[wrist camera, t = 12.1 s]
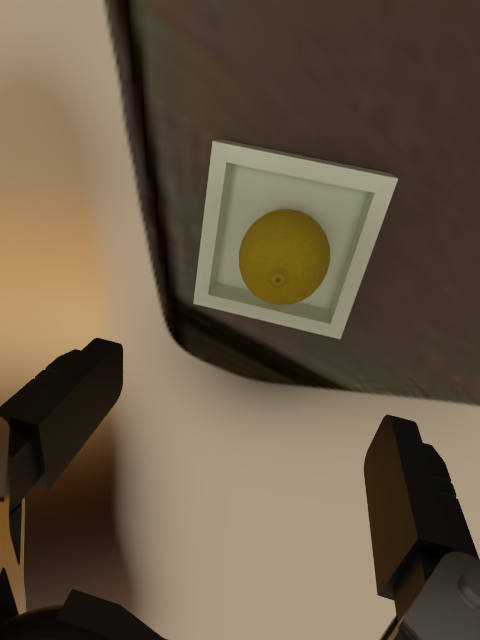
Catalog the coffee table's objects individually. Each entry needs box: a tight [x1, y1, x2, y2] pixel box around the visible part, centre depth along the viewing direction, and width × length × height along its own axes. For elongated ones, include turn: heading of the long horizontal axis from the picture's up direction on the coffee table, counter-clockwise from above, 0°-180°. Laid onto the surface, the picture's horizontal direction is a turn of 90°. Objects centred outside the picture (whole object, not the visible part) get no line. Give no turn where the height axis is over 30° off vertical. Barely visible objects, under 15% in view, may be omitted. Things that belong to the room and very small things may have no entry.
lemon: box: [239, 209, 330, 305], centre depth 23 cm, size 6×6×8 cm
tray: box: [193, 140, 398, 339], centre depth 25 cm, size 11×11×3 cm
